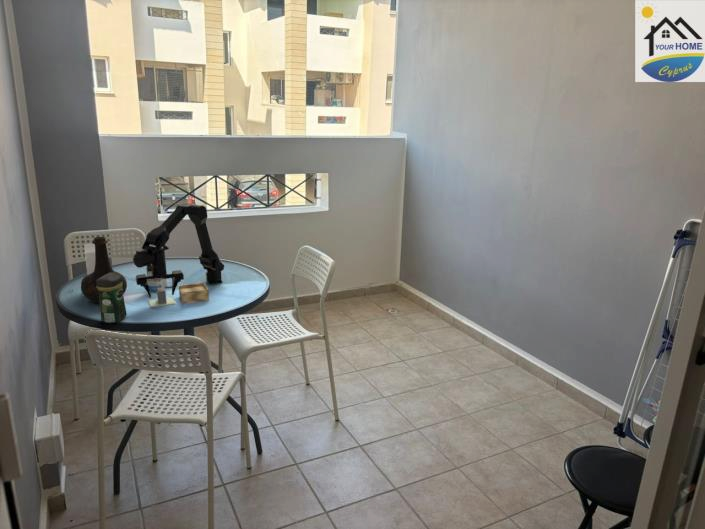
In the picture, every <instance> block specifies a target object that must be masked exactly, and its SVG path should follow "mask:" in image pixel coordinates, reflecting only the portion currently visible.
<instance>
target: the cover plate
mask: <svg viewBox="0 0 705 529" xmlns="http://www.w3.org/2000/svg"><path fill="white" fill-rule="evenodd" d="M156 295H157V298H156V299H148V303H149V307H150V308H158V307H159V308H160V307H165V306H166V307H167V306H174V305H177V304H176V301H175V299H174V297H173V296H172V297H171V296H170V297H167V293H166V289H165V288H164V287H162V288H157V292H156Z"/></svg>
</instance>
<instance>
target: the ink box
mask: <svg viewBox="0 0 705 529" xmlns="http://www.w3.org/2000/svg"><path fill="white" fill-rule="evenodd" d="M145 267H146V268H145V269H146V276H153V275H152V273H151V271H150V272H147V266H145ZM147 283H148V286H149V290H150V292H153V293H157V288H162V287H164V289H165V288H166V287H167V286H168V281H167V279H159V280H151V281H147Z"/></svg>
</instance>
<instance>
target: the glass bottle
mask: <svg viewBox="0 0 705 529" xmlns="http://www.w3.org/2000/svg"><path fill="white" fill-rule="evenodd" d="M108 243H109V240H106V237H105V236H95V237H94V238H93V240H92V242H91V244H95V269H94V272H93V273H91V274H89V275H88V274H87V275H86V276H84V277H83V278H82V279H81V281H80V282H81V284H80V291H81V293H82V295H83V296H84V297H85V298H86V299H87V300H89V301H91V302H92V303H98V304H100V298H99V291H98V289H97V282H96V280H97V279H99V278H100V277H102V276H104V275H106V274H108V273H119V274H120V275H121V277H122V289H123V295H124V294H125V293H126V291H127V287H128V282H127V279H126V277H125V276H124V275H123V274H122V273H120V272H117V271H115V270H114V269H113V267H112V264H111V260H110V257H109V253H108V247H107V244H108Z"/></svg>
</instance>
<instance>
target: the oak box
mask: <svg viewBox="0 0 705 529" xmlns="http://www.w3.org/2000/svg"><path fill="white" fill-rule="evenodd" d="M178 294H179V298H180V301H181V302H182V304H183V305H185V304H186V305H187V304H193V303H199V302H208V301H210V290H209V288H208V286H207V284H206V283H205V282H195V283H187V284H179V285H178Z"/></svg>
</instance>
